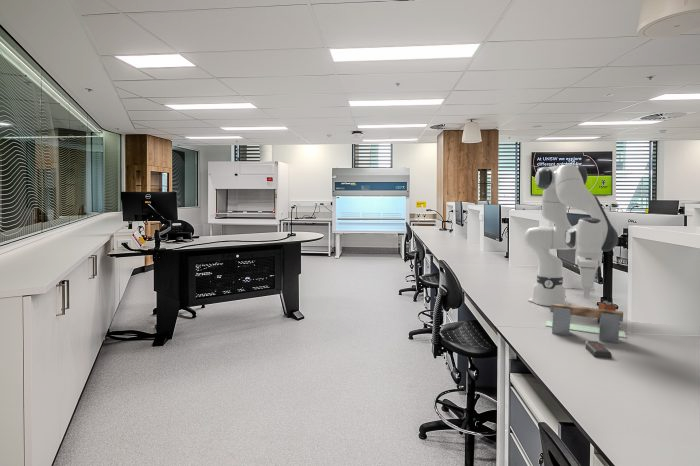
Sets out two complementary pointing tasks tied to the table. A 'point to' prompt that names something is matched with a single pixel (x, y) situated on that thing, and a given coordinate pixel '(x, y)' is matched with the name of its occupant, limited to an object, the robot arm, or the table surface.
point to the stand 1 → (561, 321)
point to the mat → (585, 329)
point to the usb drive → (598, 350)
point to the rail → (586, 311)
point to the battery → (606, 307)
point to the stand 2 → (609, 327)
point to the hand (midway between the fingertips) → (586, 296)
